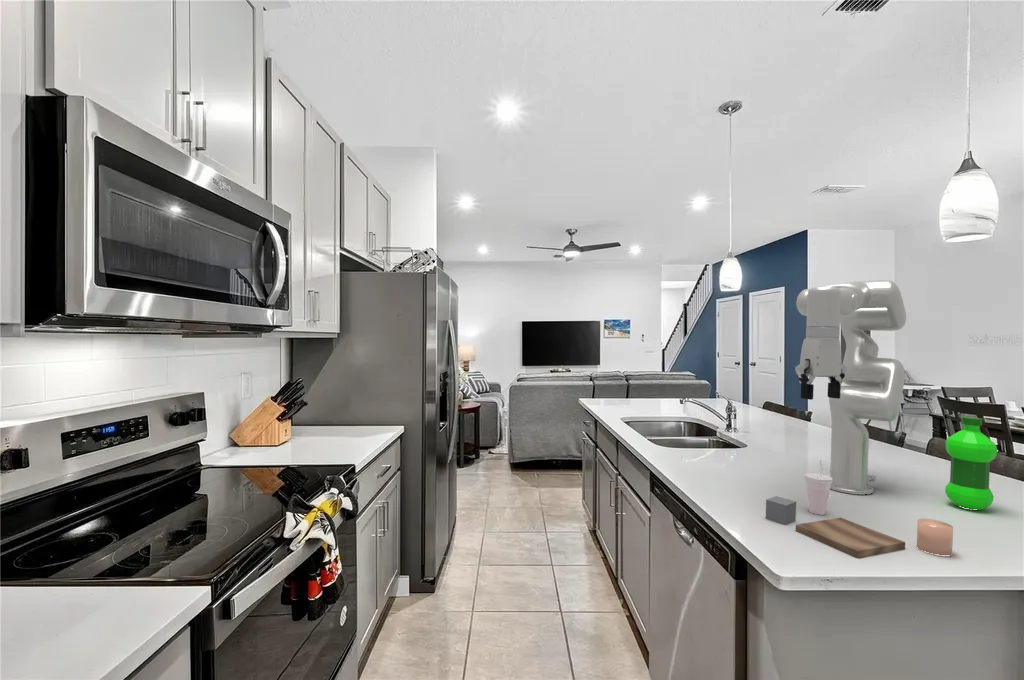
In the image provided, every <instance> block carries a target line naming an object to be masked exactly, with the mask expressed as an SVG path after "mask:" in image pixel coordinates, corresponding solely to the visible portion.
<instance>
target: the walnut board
mask: <svg viewBox="0 0 1024 680" xmlns="http://www.w3.org/2000/svg"><path fill="white" fill-rule="evenodd" d="M795 532H798V533H800V534H802V535H804V536H807V537H809V538H811V539H813V540H814V541H817V542H820V543H823V544H825V545H827V546H829V547H832V548H833V549H836V550H839V551H840V552H843V553H845V554H847V555H849V556H852V557H853V558H856V559H859V558H860V559H861V558H867V557H871V556H876V555H881V554H887V553H891V552H896V551H900V550H905V549H906V542H905V541H904V540H901V539H898V538H895V537H893V536H889V535H888V534H885V533H883V532H879V531H877V530H874V529H872V528H869V527H866V526H863V525H861V524H859V523H856V522H853V521H850V520H849V519H845V518H843V517H835V518H834V517H833V518H830V519H822V520H816V521H810V522H803V523H796V524H795Z"/></svg>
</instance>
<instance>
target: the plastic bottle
mask: <svg viewBox="0 0 1024 680" xmlns="http://www.w3.org/2000/svg"><path fill="white" fill-rule="evenodd" d="M960 424H961V425H963V429H962V430H959V431H957V432H955V433H953V434H952V435H950V436H948V437H947V439H946V440H945V442H944V443H945V450H946V452H947V454H949V456H950V471H949V472H950V474H949V482H948V483H947V484H946V485H945V489H944V492H945V495H946V497H947V498H948V499H949V500H950V502H951V503H953V504H954V505H955V506H956V505H958V506H961V507H964V508H969V509H977V510H980V511H982V510H983V509H985V508H988V507H990V506H991V505H992V504H993V503H994V494H993V492H992V490H991V488H990V475H991V474H990V467H991V462H992V461H993V460H995V459H996V458H997V455H998V448H997V445H996V443H995V442H993V440H991V439H990V438H989V437H988V436H987V435H985V434H984V433H983V432H981V430H980V427H981V426H983V418H980V417H975V416H961V418H960Z"/></svg>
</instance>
